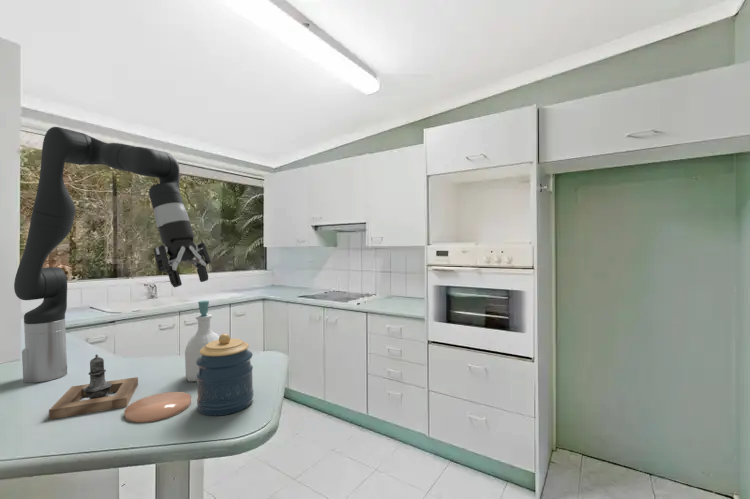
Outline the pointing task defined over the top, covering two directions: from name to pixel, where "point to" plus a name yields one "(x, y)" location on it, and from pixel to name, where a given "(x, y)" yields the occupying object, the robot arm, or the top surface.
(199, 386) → the canister
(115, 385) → the wooden square frame
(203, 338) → the soap bottle
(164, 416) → the saucer
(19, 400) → the top surface
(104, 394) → the salt shaker
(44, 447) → the top surface
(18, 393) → the top surface
